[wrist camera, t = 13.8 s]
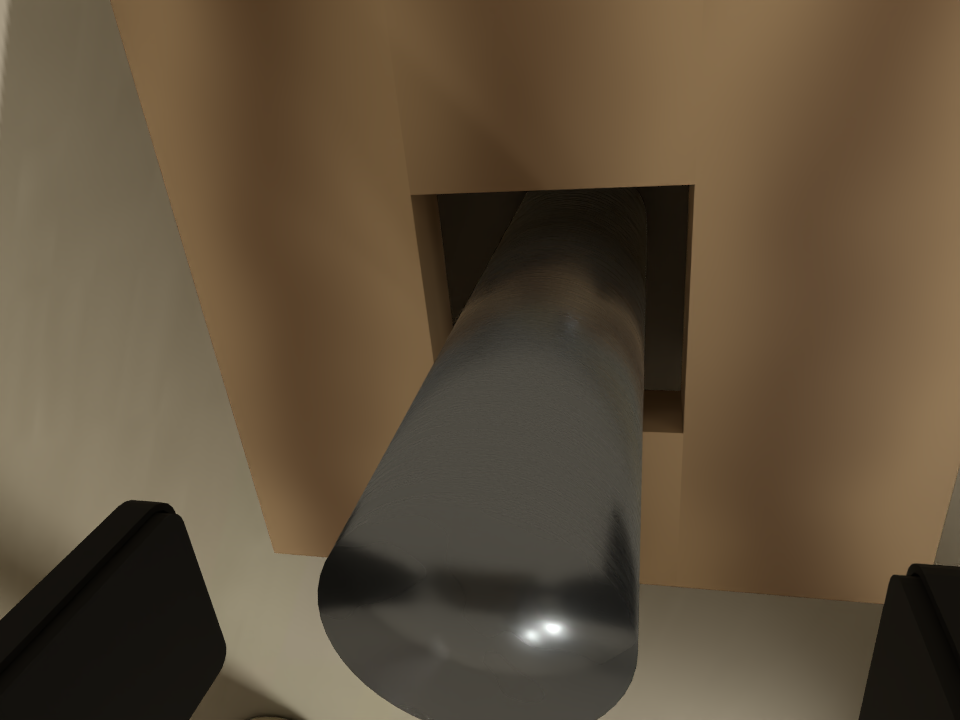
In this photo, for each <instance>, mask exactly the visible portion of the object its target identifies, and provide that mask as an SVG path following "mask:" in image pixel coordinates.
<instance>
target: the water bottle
mask: <svg viewBox="0 0 960 720" xmlns="http://www.w3.org/2000/svg"><path fill="white" fill-rule="evenodd" d="M249 720H288V719H284V718H279V717H268V716H265V717H256V718H252V719H249Z"/></svg>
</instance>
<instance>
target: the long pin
mask: <svg viewBox="0 0 960 720" xmlns="http://www.w3.org/2000/svg"><path fill="white" fill-rule="evenodd" d="M646 260H647V214H646V209H645V205H644V203H643V200H642V198H641V196H640V194H639V192H638V190H637V189H636V188H635V187H613V188H586V189H560V190H533V191H528V192H527V194H526V195H525V197H524V199H523V201H522V203H521V205H520V206H519V208H518V210H517V212H516V214H515V216H514V217H513V219H512V221H511V223H510V225H509V227H508V228H507V230H506V232H505V234H504V236H503V238H502V239H501V241H500V243H499V245H498V247H497V248H496V250H495V252H494V254H493V256H492V258H491V259H490V261H489V263H488V265H487V267H486V269H485V270H484V272H483V274H482V276H481V278H480V280H479V281H478V283H477V285H476V287H475V289H474V291H473V292H472V294H471V296H470V298H469V300H468V302H467V303H466V305H465V307H464V309H463V311H462V313H461V314H460V316H459V318H458V320H457V322H456V324H455V325H454V327H453V329H452V331H451V333H450V334H449V336H448V338H447V340H446V342H445V344H444V345H443V347H442V349H441V351H440V353H439V355H438V356H437V358H436V360H435V362H434V364H433V366H432V367H431V369H430V371H429V373H428V375H427V377H426V378H425V380H424V382H423V384H422V386H421V388H420V389H419V391H418V393H417V395H416V397H415V399H414V400H413V402H412V404H411V406H410V408H409V410H408V411H407V413H406V415H405V417H404V419H403V420H402V422H401V424H400V426H399V428H398V430H397V431H396V433H395V435H394V437H393V439H392V441H391V442H390V444H389V446H388V448H387V450H386V452H385V453H384V455H383V457H382V459H381V461H380V463H379V464H378V466H377V468H376V470H375V472H374V474H373V475H372V477H371V479H370V481H369V483H368V485H367V486H366V488H365V490H364V492H363V494H362V496H361V497H360V499H359V501H358V503H357V505H356V507H355V508H354V510H353V512H352V514H351V516H350V517H349V519H348V521H347V523H346V525H345V527H344V528H343V530H342V532H341V534H340V536H339V538H338V539H337V541H336V543H335V545H334V547H333V549H332V550H331V552H330V554H329V556H328V558H327V560H326V561H325V564H324V566H323V569H322V572H321V575H320V579H319V585H318V606H319V612H320V617H321V620H322V623H323V626H324V629H325V632H326V634H327V636H328V638H329V640H330V642H331V644H332V646H333V647H334V649H335V650H336V652H337V653H338V655H339V656H340V658H341V659H342V660H343V662H344V663H345V664H346V665H347V666H348V667H349V669H350V670H351V671H352V672H353V673H354V674H355V675H356V676H357V677H358V678H359V679H360V680H361V681H362V682H363V683H364V684H365V685H366V686H368V687H369V688H370V689H372V690H373V691H374V692H375V693H377V694H378V695H379V696H381V697H382V698H384V699H385V700H387V701H388V702H390V703H391V704H393V705H394V706H396V707H398V708H399V709H401V710H403V711H405V712H407V713H409V714H411V715H412V716H415V717H417V718H419V719H421V720H597V719H598V718H600V717H601V716H603V715H604V714H606V713H607V712H608V711H609V710H610V709H611V708H613V707H614V706H615V705H616V704H617V702H618V701H619V700H620V699H621V698H622V696H623V695H624V694H625V692H626V690H627V689H628V687H629V685H630V683H631V681H632V679H633V675H634V672H635V669H636V664H637V655H638V623H639V578H640V533H641V487H642V442H643V397H644V351H645V306H646Z"/></svg>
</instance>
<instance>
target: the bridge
mask: <svg viewBox="0 0 960 720" xmlns="http://www.w3.org/2000/svg"><path fill="white" fill-rule="evenodd" d="M110 2H111V5H112V8H113V12H114V15H115V18H116V22H117V25H118V28H119V32H120V35H121V39H122V42H123V45H124V49H125V52H126V55H127V59H128V62H129V65H130V69H131V72H132V75H133V79H134V82H135V86H136V89H137V92H138V96H139V99H140V102H141V106H142V109H143V112H144V116H145V119H146V122H147V126H148V129H149V133H150V136H151V139H152V143H153V146H154V149H155V153H156V156H157V159H158V163H159V166H160V170H161V173H162V176H163V180H164V183H165V186H166V190H167V193H168V196H169V200H170V203H171V206H172V210H173V213H174V217H175V220H176V223H177V227H178V230H179V233H180V237H181V240H182V243H183V247H184V250H185V254H186V257H187V260H188V264H189V267H190V270H191V274H192V277H193V280H194V284H195V287H196V290H197V294H198V297H199V301H200V304H201V307H202V311H203V314H204V317H205V321H206V324H207V327H208V331H209V334H210V338H211V341H212V344H213V348H214V351H215V354H216V358H217V361H218V364H219V368H220V371H221V374H222V378H223V381H224V385H225V388H226V391H227V395H228V398H229V401H230V405H231V408H232V411H233V415H234V418H235V421H236V425H237V428H238V432H239V435H240V438H241V442H242V445H243V448H244V452H245V455H246V458H247V462H248V465H249V469H250V472H251V475H252V479H253V482H254V485H255V489H256V492H257V495H258V499H259V502H260V505H261V509H262V512H263V516H264V519H265V522H266V526H267V529H268V532H269V536H270V539H271V542H272V546H273V549H274V553H282V554H294V555H306V556H317V557H328V556H329V554H330V552H331V550H332V549H333V547H334V545H335V543H336V541H337V539H338V538H339V536H340V534H341V532H342V530H343V528H344V527H345V525H346V523H347V521H348V519H349V517H350V516H351V514H352V512H353V510H354V508H355V507H356V505H357V503H358V501H359V499H360V497H361V496H362V494H363V492H364V490H365V488H366V486H367V485H368V483H369V481H370V479H371V477H372V475H373V474H374V472H375V470H376V468H377V466H378V464H379V463H380V461H381V459H382V457H383V455H384V453H385V452H386V450H387V448H388V446H389V444H390V442H391V441H392V439H393V437H394V435H395V433H396V431H397V430H398V428H399V426H400V424H401V422H402V420H403V419H404V417H405V415H406V413H407V411H408V410H409V408H410V406H411V404H412V402H413V400H414V399H415V397H416V395H417V393H418V391H419V389H420V388H421V386H422V384H423V382H424V380H425V378H426V377H427V375H428V373H429V371H430V369H431V367H432V366H433V364H434V362H435V360H436V358H437V356H438V355H439V353H440V351H441V349H442V347H443V345H444V344H445V342H446V340H447V338H448V336H449V334H450V333H451V331H452V329H453V323H452V315H451V306H450V298H449V290H448V282H447V274H446V265H445V257H444V249H443V241H442V233H441V224H440V216H439V208H438V200H437V194H452V193H479V192H506V191H533V190H560V189H586V188H613V187H640V186H667V185H689V207H688V231H687V254H686V278H685V301H684V324H683V348H682V371H681V391H667V390H644V397H643V442H642V487H641V533H640V578H639V584H650V585H662V586H674V587H686V588H698V589H709V590H721V591H733V592H745V593H757V594H769V595H781V596H793V597H804V598H816V599H828V600H840V601H852V602H864V603H876V604H884V602H885V598H886V593H887V588H888V584H889V581H890V578H891V576H892V575H906V574H907V571H908V568H909V567H910V565H911V564H914V563H918V564H931V565H933V564H934V560H935V556H936V552H937V549H938V545H939V541H940V537H941V534H942V530H943V526H944V522H945V519H946V515H947V511H948V507H949V504H950V500H951V496H952V492H953V489H954V485H955V481H956V477H957V474H958V470H959V466H960V0H110Z"/></svg>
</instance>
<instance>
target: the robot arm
mask: <svg viewBox="0 0 960 720" xmlns="http://www.w3.org/2000/svg"><path fill="white" fill-rule="evenodd" d="M225 657H226V644H225V640H224V637H223V634H222V631H221V629H220V626H219V623H218V620H217V617H216V614H215V611H214V608H213V605H212V602H211V600H210V597H209V594H208V591H207V588H206V585H205V582H204V579H203V576H202V573H201V571H200V568H199V565H198V562H197V559H196V556H195V553H194V550H193V547H192V544H191V542H190V539H189V536H188V533H187V530H186V527H185V524H184V521H183V520H182V518H181V517H180V516H179V515H178V514H176V513H175V511H174V509H173V507H171V506H170V505H169V504H167V503H161V502H149V501H136V500H130V501H126V502H124V503H123V504H121V505H120V506H118V507H117V508H116V509H115V510H114V511H113V512H112V513H111V514H110V515H109V516H108V517H107V518H106V519H105V520H104V521H103V522H102V523H101V524H100V525H99V526H98V527H97V528H96V529H95V530H93V531H92V532H91V533H90V534H89V535H88V536H87V537H86V538H85V539H84V540H83V541H82V542H81V543H80V544H79V545H78V546H77V547H76V548H75V549H74V550H73V551H72V552H71V553H70V554H69V555H68V556H66V557H65V558H64V559H63V560H62V561H61V562H60V563H59V564H58V565H57V566H56V567H55V568H54V569H53V570H52V571H51V572H50V573H49V574H48V575H47V576H46V577H45V578H44V579H43V580H42V581H41V582H39V583H38V584H37V585H36V586H35V587H34V588H33V589H32V590H31V591H30V592H29V593H28V594H27V595H26V596H25V597H24V598H23V599H22V600H21V601H20V602H19V603H18V604H17V605H16V606H15V607H14V608H13V609H11V610H10V611H9V612H8V613H7V614H6V615H5V616H4V617H3V618H2V619H1V620H0V720H189V719H190V717H191V716H192V714H193V713H194V711H195V710H196V708H197V707H198V705H199V703H200V702H201V700H202V699H203V697H204V696H205V694H206V693H207V691H208V689H209V688H210V686H211V685H212V683H213V682H214V680H215V679H216V677H217V675H218V674H219V672H220V671H221V669H222V667H223V664H224V661H225ZM859 720H960V567H956V566H943V565H931V564H918V563H914V564H911V565H910V567H909V568H908V571H907V574H906V575H892V576H891V578H890V581H889V584H888V588H887V593H886V598H885V602H884V607H883V611H882V616H881V620H880V625H879V629H878V634H877V638H876V643H875V648H874V652H873V657H872V661H871V666H870V670H869V675H868V679H867V684H866V688H865V693H864V698H863V702H862V707H861V711H860V716H859Z"/></svg>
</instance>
